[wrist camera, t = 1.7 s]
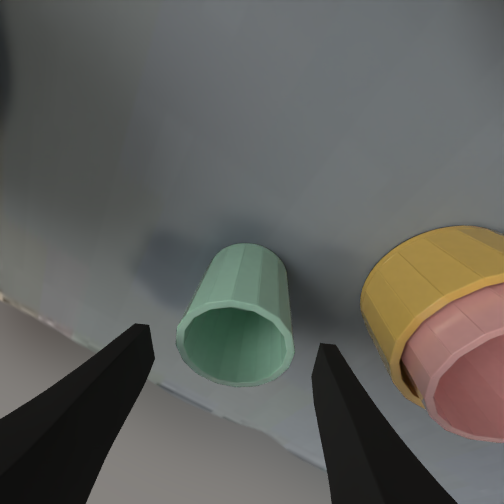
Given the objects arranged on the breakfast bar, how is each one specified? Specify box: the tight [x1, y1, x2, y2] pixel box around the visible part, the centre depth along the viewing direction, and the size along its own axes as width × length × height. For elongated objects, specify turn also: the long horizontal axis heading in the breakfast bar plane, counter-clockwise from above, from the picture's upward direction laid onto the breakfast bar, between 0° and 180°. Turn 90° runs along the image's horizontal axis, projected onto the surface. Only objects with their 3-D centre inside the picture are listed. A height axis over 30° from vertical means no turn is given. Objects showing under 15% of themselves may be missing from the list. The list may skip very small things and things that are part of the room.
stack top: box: [400, 283, 504, 443], centre depth 12 cm, size 8×8×6 cm
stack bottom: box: [360, 226, 504, 409], centre depth 12 cm, size 9×9×4 cm
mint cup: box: [176, 243, 295, 387], centre depth 13 cm, size 5×5×6 cm
